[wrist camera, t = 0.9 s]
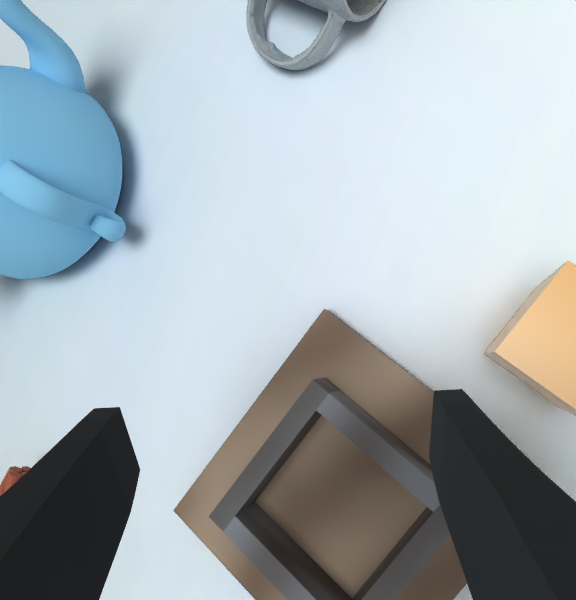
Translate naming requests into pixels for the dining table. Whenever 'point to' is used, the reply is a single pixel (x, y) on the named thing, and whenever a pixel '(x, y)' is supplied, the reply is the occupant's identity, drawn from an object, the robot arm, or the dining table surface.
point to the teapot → (52, 157)
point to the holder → (330, 482)
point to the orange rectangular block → (544, 339)
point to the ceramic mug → (340, 7)
